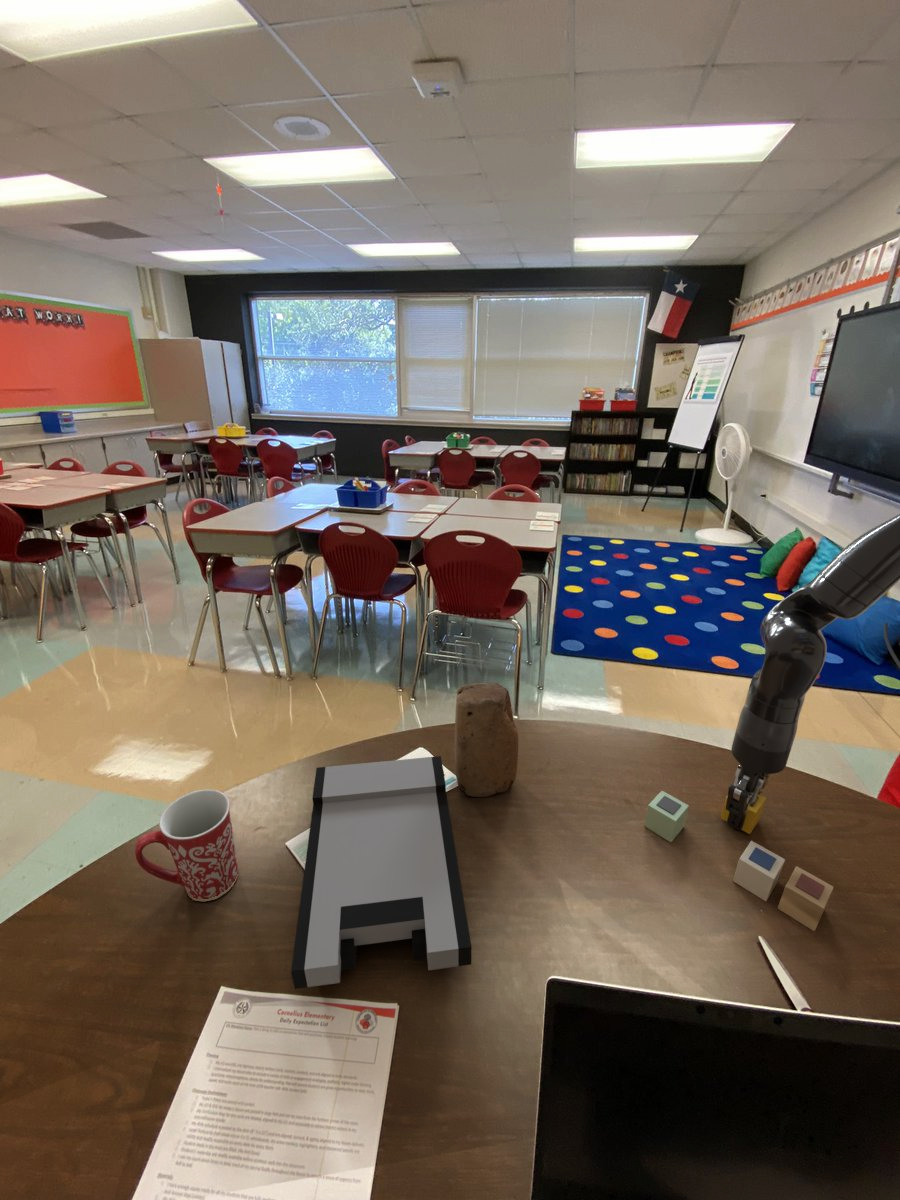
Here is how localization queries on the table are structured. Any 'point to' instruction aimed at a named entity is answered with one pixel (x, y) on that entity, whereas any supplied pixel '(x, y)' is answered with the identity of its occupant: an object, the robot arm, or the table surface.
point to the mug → (195, 844)
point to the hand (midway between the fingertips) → (740, 816)
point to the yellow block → (749, 813)
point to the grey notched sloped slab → (379, 870)
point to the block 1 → (485, 740)
